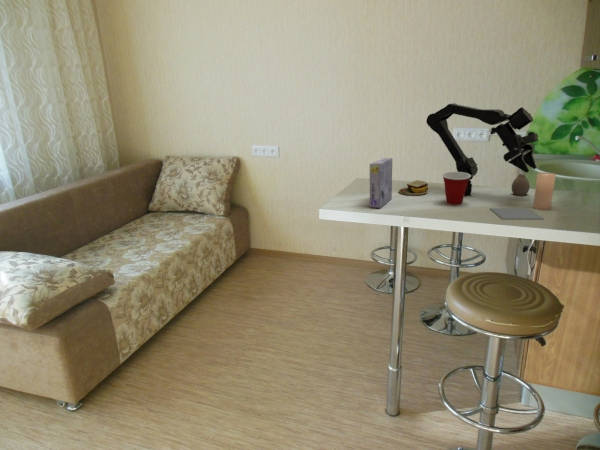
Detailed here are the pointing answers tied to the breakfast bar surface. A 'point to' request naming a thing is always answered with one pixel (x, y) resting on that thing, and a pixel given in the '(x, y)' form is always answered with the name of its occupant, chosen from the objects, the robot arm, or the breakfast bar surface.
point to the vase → (520, 185)
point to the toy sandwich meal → (415, 188)
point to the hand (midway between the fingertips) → (531, 170)
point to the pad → (516, 214)
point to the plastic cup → (455, 186)
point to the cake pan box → (380, 182)
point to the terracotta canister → (544, 191)
